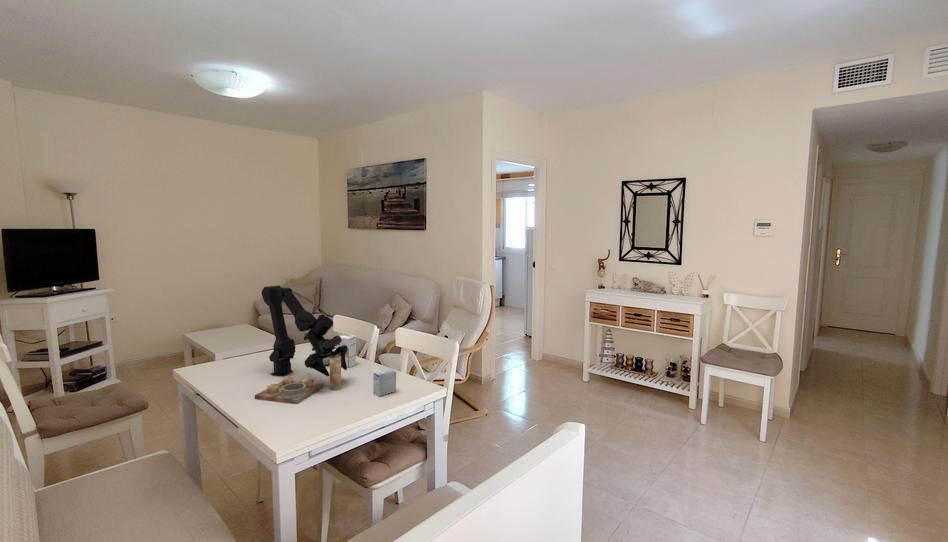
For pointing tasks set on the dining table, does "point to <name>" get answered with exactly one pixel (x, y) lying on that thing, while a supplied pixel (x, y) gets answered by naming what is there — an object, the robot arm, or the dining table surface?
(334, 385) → the stool leg
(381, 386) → the medicine box
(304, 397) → the stool seat
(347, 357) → the syrup box
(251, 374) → the dining table surface
